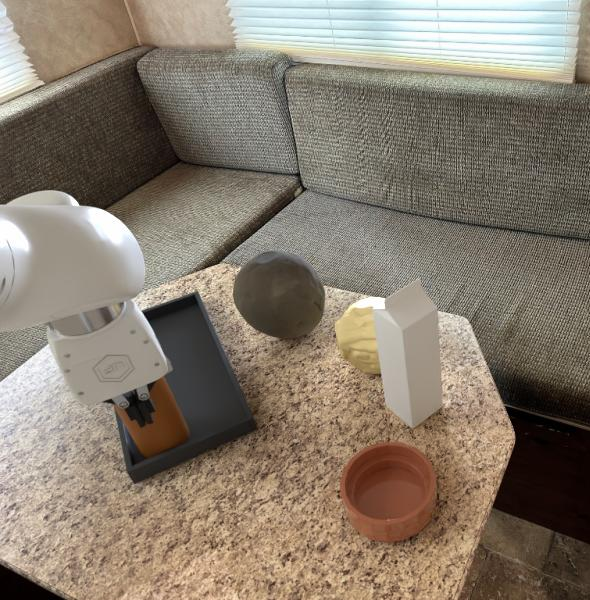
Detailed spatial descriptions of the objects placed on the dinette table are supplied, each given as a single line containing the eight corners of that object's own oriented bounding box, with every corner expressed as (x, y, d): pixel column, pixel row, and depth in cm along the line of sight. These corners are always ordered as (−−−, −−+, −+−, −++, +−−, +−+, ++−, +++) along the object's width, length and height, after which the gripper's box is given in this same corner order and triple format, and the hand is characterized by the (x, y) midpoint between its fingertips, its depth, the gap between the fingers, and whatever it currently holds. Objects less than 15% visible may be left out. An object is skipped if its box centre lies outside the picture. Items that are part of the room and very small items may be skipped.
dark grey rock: (309, 294, 111) (293, 224, 101) (345, 336, 101) (331, 263, 92) (236, 325, 106) (212, 255, 96) (267, 373, 96) (243, 300, 87)
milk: (443, 406, 88) (438, 288, 74) (412, 430, 85) (400, 311, 71) (415, 384, 92) (405, 267, 78) (384, 406, 89) (368, 289, 75)
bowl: (369, 562, 71) (365, 542, 68) (331, 487, 79) (325, 466, 76) (454, 515, 74) (453, 494, 71) (409, 449, 83) (406, 428, 80)
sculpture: (340, 387, 92) (328, 335, 85) (344, 334, 102) (334, 283, 95) (414, 382, 92) (409, 330, 85) (412, 329, 101) (407, 278, 94)
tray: (134, 484, 82) (126, 472, 80) (103, 336, 106) (97, 325, 105) (258, 429, 87) (254, 417, 86) (202, 301, 112) (197, 290, 110)
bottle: (144, 468, 83) (91, 378, 71) (136, 433, 88) (85, 343, 76) (194, 446, 85) (151, 355, 74) (184, 413, 90) (141, 323, 79)
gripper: (8, 353, 59) (86, 466, 70) (163, 299, 63) (211, 413, 75) (7, 311, 64) (79, 422, 76) (150, 264, 69) (197, 375, 80)
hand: (145, 417), depth 75 cm, fingers closed
